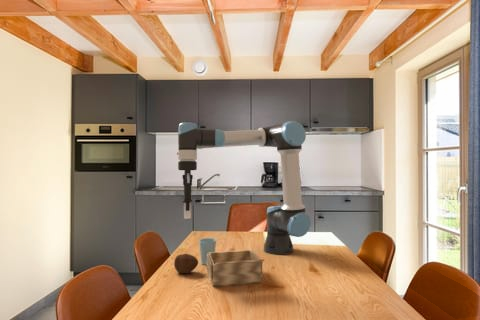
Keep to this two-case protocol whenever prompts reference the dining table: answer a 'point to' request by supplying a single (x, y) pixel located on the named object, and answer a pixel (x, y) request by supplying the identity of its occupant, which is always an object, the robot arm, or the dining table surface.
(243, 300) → the dining table surface
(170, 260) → the dining table surface
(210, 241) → the cup
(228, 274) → the carton
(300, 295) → the dining table surface
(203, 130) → the robot arm
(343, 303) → the dining table surface
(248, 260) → the flap
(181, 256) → the potato
